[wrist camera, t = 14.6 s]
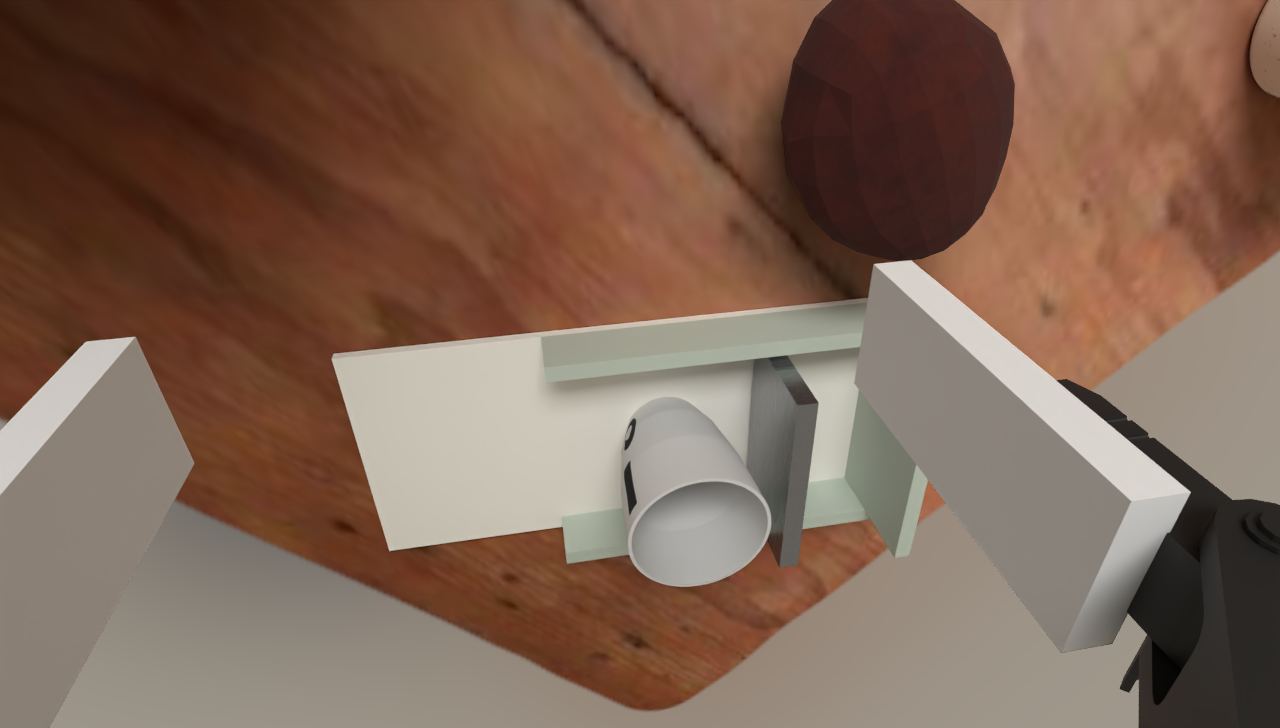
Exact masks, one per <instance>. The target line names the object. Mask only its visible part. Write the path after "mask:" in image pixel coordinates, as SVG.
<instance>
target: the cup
mask: <svg viewBox="0 0 1280 728" xmlns="http://www.w3.org/2000/svg"><path fill="white" fill-rule="evenodd" d="M621 499H622V507H623V514H624V522H625V529H626V536H627V544H628V551H629V555H630V558H631V560H632V562H633V564H634V565H635V567H636V568H637V569H638V570H639V571H640V572H641V573H642V574H643V575H645V576H646V577H648V578H650V579H651V580H653V581H656V582H658V583H661V584H665V585H670V586H679V587H690V586H699V585H704V584H709V583H712V582H715V581H718V580H721V579H723V578H726V577H728V576H730V575H732V574H734V573H735V572H737V571H739V570H740V569H742V568H743V567H744V566H746V565H747V564H748V563H749V562H750V561H752V560H753V559H754V558H755V556H756V555H757V554H758V553H759V552H760V550H761V549H762V548H763V546H764V544H765V543H766V541H767V538H768V536H769V533H770V529H771V513H770V509H769V507H768V505H767V503H766V501H765V499H764V497H763V496H762V494H761V492H760V490H759V489H758V487H757V485H756V483H755V482H754V480H753V478H752V476H751V475H750V473H749V471H748V469H747V468H746V466H745V464H744V462H743V461H742V459H741V457H740V455H739V454H738V453H737V451H736V450H735V449H734V448H733V446H732V445H731V444H730V443H729V441H728V440H727V439H726V437H725V436H724V435H723V434H722V432H721V431H720V430H719V429H718V427H717V426H716V425H715V424H714V422H713V421H712V420H711V419H709V418H708V417H707V416H706V415H704V414H703V413H702V412H701V411H700V410H698V409H697V408H696V407H695V406H693V405H692V404H691V403H690V402H688V401H686V400H684V399H681V398H677V397H661V398H657V399H654V400H651V401H649V402H647V403H645V404H644V405H642V406H641V407H640V408H639V409H637V410H636V412H635V413H634V414H633V415H632V417H631V419H630V421H629V423H628V427H627V431H626V435H625V440H624V444H623V448H622V457H621Z"/></svg>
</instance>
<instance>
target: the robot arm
mask: <svg viewBox="0 0 1280 728" xmlns="http://www.w3.org/2000/svg"><path fill="white" fill-rule="evenodd" d="M854 384H855V385H856V387H857V388H858V389H859V391H860V392H861V393H862V394H863V396H864V397H865V398H866V400H867V401H868V402H869V404H870V405H871V406H872V407H873V409H874V410H875V411H876V413H877V414H878V415H879V417H880V418H881V419H882V421H883V422H884V423H885V424H886V426H887V427H888V428H889V430H890V431H891V432H892V434H893V435H894V436H895V437H896V439H897V440H898V441H899V443H900V444H901V445H902V447H903V448H904V449H905V450H906V452H907V453H908V454H909V456H910V457H911V458H912V460H913V461H914V462H915V464H916V465H917V466H918V467H919V469H920V470H921V471H922V473H923V474H924V475H925V477H926V478H927V479H928V480H929V482H930V483H931V484H932V486H933V487H934V488H935V490H936V491H937V492H938V494H939V495H940V496H941V497H942V499H943V500H944V501H945V503H946V504H947V505H948V507H949V508H950V509H951V510H952V512H953V513H954V514H955V516H956V517H957V518H958V520H959V521H960V522H961V523H962V524H963V526H964V527H965V529H966V530H967V531H968V533H969V534H970V535H971V536H972V538H973V539H974V540H975V542H976V543H977V544H978V546H979V547H980V548H981V550H982V551H983V552H984V553H985V554H986V556H987V557H988V559H989V560H990V561H991V562H992V564H993V565H994V566H995V568H996V569H997V570H998V572H999V573H1000V574H1001V575H1002V577H1003V578H1004V579H1005V581H1006V582H1007V583H1008V585H1009V586H1010V587H1011V588H1012V590H1013V591H1014V593H1015V594H1016V595H1017V596H1018V598H1019V599H1020V600H1021V602H1022V603H1023V604H1024V606H1025V607H1026V608H1027V610H1028V611H1029V612H1030V613H1031V615H1032V616H1033V617H1034V619H1035V620H1036V621H1037V622H1038V624H1039V625H1040V626H1041V628H1042V629H1043V630H1044V632H1045V633H1046V634H1047V636H1048V637H1049V638H1050V639H1051V641H1052V642H1053V643H1054V645H1055V646H1056V647H1057V649H1058V650H1059V651H1060V652H1061V653H1065V652H1070V651H1075V650H1081V649H1087V648H1092V647H1097V646H1104V645H1109V644H1112V643H1113V641H1114V639H1115V638H1116V636H1117V634H1118V632H1119V630H1120V628H1121V625H1122V624H1123V622H1124V620H1125V618H1126V616H1127V614H1129V615H1130V616H1131V617H1132V618H1133V619H1134V620H1135V621H1136V622H1137V624H1138V625H1139V626H1140V627H1141V628H1142V629H1143V630H1144V631H1145V632H1146V633H1147V636H1146V638H1145V640H1144V642H1143V643H1142V645H1141V647H1140V649H1139V651H1138V652H1137V655H1136V656H1135V658H1134V660H1133V662H1132V663H1131V665H1130V667H1129V669H1128V670H1127V672H1126V674H1125V676H1124V678H1123V681H1122V684H1121V686H1120V689H1121V690H1124V691H1126V692H1129V691H1130V690H1131V688H1132V687H1133V685H1134V683H1135V681H1136V680H1138V679H1139V728H1280V505H1278V504H1275V503H1270V502H1264V501H1258V500H1253V499H1244V500H1232V499H1230V498H1229V497H1228V496H1227V495H1226V494H1224V493H1223V492H1222V491H1220V490H1219V489H1218V488H1217V487H1215V486H1214V485H1213V484H1211V483H1210V482H1209V481H1208V480H1207V479H1205V478H1204V477H1203V476H1202V475H1200V474H1199V473H1198V472H1197V471H1195V470H1194V469H1193V468H1191V467H1190V466H1189V465H1188V464H1186V463H1185V462H1184V461H1183V460H1181V459H1180V458H1179V457H1178V456H1176V455H1175V454H1174V453H1173V452H1171V451H1170V450H1169V449H1167V448H1166V447H1165V446H1164V445H1162V444H1161V443H1160V442H1159V441H1157V440H1156V439H1155V438H1149V437H1148V433H1147V432H1146V431H1145V430H1144V429H1142V428H1141V427H1140V426H1138V425H1137V424H1136V423H1135V422H1133V421H1132V420H1131V421H1128V420H1127V416H1126V415H1125V414H1123V413H1122V412H1121V411H1120V410H1118V409H1117V408H1116V407H1114V406H1113V405H1112V404H1111V403H1109V402H1108V401H1107V400H1106V399H1104V398H1103V397H1102V396H1100V395H1098V394H1096V393H1094V392H1092V391H1090V390H1088V389H1086V388H1084V387H1082V386H1080V385H1078V384H1076V383H1074V382H1071V381H1069V380H1067V379H1063V380H1055V379H1054V378H1052V377H1051V376H1050V375H1049V374H1048V373H1046V372H1045V371H1044V370H1043V369H1042V368H1040V367H1039V366H1038V365H1037V364H1036V363H1034V362H1033V361H1032V360H1031V359H1030V358H1028V357H1027V356H1026V355H1025V354H1023V353H1022V352H1021V351H1020V350H1019V349H1017V348H1016V347H1015V346H1014V345H1013V344H1011V343H1010V342H1009V341H1008V340H1007V339H1005V338H1004V337H1003V336H1002V335H1001V334H999V333H998V332H997V331H996V330H995V329H993V328H992V327H991V326H990V325H988V324H987V323H986V322H985V321H984V320H982V319H981V318H980V317H979V316H978V315H976V314H975V313H974V312H973V311H972V310H970V309H969V308H968V307H967V306H966V305H964V304H963V303H962V302H961V301H960V300H958V299H957V298H956V297H955V296H953V295H952V294H951V293H950V292H949V291H947V290H946V289H945V288H944V287H943V286H941V285H940V284H939V283H938V282H937V281H935V280H934V279H933V278H932V277H931V276H929V275H928V274H927V273H926V272H925V271H923V270H922V269H921V268H920V267H918V266H917V265H916V264H915V263H914V262H912V261H911V260H910V261H899V262H889V263H879V264H874V265H873V271H872V277H871V283H870V289H869V295H868V302H867V308H866V314H865V320H864V326H863V332H862V338H861V344H860V350H859V357H858V363H857V369H856V375H855V381H854ZM193 465H194V461H193V459H192V457H191V455H190V453H189V451H188V448H187V446H186V444H185V442H184V440H183V438H182V435H181V433H180V431H179V429H178V427H177V425H176V423H175V420H174V418H173V416H172V414H171V412H170V410H169V408H168V405H167V403H166V401H165V399H164V397H163V395H162V393H161V390H160V388H159V386H158V384H157V382H156V380H155V378H154V375H153V373H152V371H151V369H150V367H149V365H148V363H147V360H146V358H145V356H144V354H143V352H142V350H141V347H140V345H139V343H138V341H137V339H136V337H128V338H118V339H108V340H98V341H88V342H85V343H84V344H83V345H82V346H81V347H80V348H79V349H78V350H77V351H76V353H75V354H74V355H73V356H72V357H71V358H70V359H69V360H68V361H67V362H66V363H65V364H64V365H63V366H62V367H61V368H60V369H59V370H58V371H57V372H56V373H55V374H54V375H53V376H52V377H51V379H50V380H49V381H48V382H47V383H46V384H45V385H44V386H43V387H42V388H41V389H40V390H39V391H38V392H37V393H36V394H35V395H34V396H33V397H32V398H31V399H30V400H29V401H28V402H27V403H26V405H25V406H24V407H23V408H22V409H21V410H20V411H19V412H18V413H17V414H16V415H15V416H14V417H13V418H12V419H11V420H10V421H9V422H8V423H7V424H6V425H5V426H4V427H3V428H2V429H1V431H0V728H49V727H50V726H51V724H52V722H53V720H54V718H55V716H56V715H57V713H58V711H59V709H60V707H61V706H62V704H63V702H64V700H65V698H66V696H67V695H68V693H69V691H70V689H71V687H72V685H73V684H74V682H75V680H76V678H77V676H78V674H79V673H80V671H81V669H82V667H83V665H84V664H85V662H86V660H87V658H88V656H89V655H90V653H91V651H92V649H93V647H94V645H95V644H96V642H97V640H98V638H99V636H100V634H101V633H102V631H103V629H104V627H105V625H106V624H107V622H108V620H109V618H110V616H111V615H112V613H113V611H114V609H115V607H116V605H117V604H118V602H119V600H120V598H121V596H122V594H123V593H124V591H125V589H126V587H127V585H128V584H129V582H130V580H131V578H132V576H133V574H134V572H135V571H136V569H137V567H138V565H139V563H140V562H141V560H142V558H143V556H144V554H145V552H146V551H147V549H148V547H149V545H150V543H151V542H152V540H153V538H154V536H155V534H156V533H157V531H158V529H159V527H160V525H161V523H162V522H163V520H164V518H165V516H166V514H167V513H168V511H169V509H170V507H171V505H172V503H173V502H174V500H175V498H176V496H177V494H178V493H179V491H180V489H181V487H182V485H183V483H184V482H185V480H186V478H187V476H188V474H189V473H190V471H191V469H192V467H193Z"/></svg>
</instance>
